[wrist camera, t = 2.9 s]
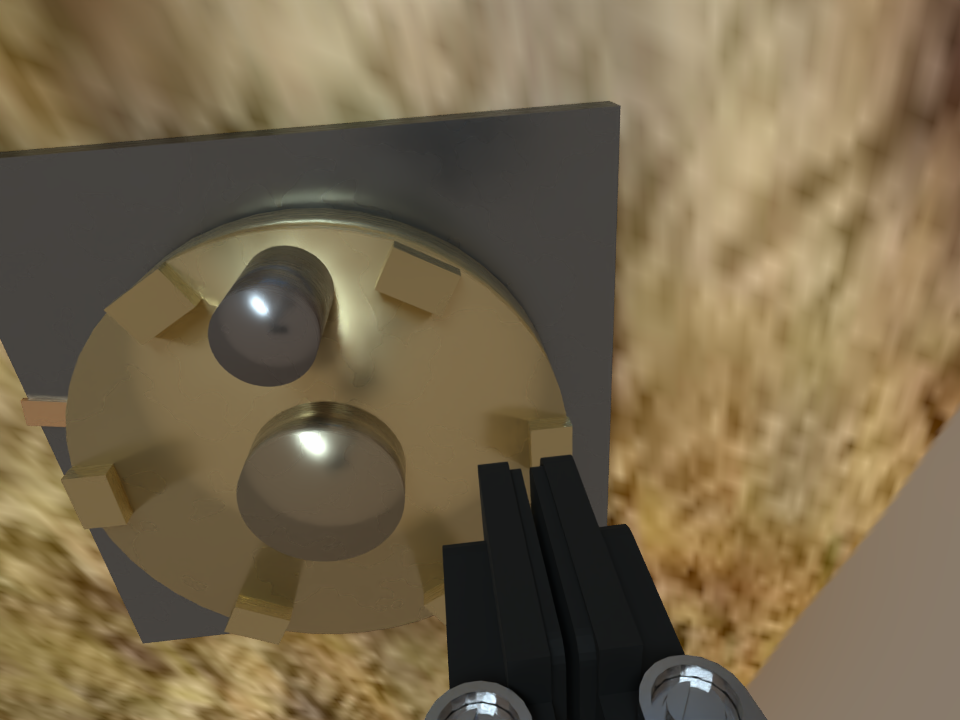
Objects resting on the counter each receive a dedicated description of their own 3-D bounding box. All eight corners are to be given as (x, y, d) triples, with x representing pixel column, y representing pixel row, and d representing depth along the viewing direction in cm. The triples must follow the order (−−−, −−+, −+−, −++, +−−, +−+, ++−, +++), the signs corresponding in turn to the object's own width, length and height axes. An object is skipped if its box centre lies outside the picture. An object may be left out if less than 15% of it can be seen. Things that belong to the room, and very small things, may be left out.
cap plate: (609, 101, 24) (621, 106, 23) (597, 568, 35) (605, 593, 34) (-64, 157, 23) (-97, 167, 22) (146, 620, 34) (133, 647, 33)
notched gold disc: (552, 185, 24) (597, 241, 18) (558, 565, 32) (589, 686, 27) (19, 233, 23) (-121, 307, 17) (176, 608, 32) (120, 743, 26)
